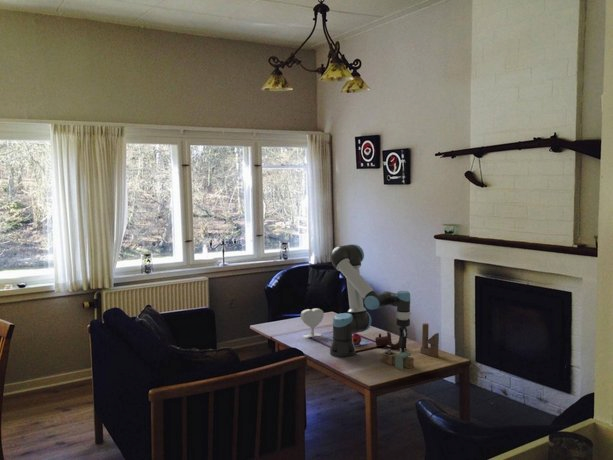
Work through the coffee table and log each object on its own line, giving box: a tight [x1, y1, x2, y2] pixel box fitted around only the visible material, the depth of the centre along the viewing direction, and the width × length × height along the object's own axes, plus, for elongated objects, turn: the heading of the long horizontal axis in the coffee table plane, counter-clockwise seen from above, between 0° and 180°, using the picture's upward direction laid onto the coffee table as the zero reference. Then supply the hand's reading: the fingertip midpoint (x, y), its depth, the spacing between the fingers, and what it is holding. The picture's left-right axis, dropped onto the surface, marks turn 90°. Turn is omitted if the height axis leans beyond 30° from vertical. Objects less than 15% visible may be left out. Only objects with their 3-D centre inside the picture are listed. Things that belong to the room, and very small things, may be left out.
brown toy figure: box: [374, 331, 400, 349], centre depth 337 cm, size 6×17×10 cm, turn 72°
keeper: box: [394, 351, 412, 370], centre depth 301 cm, size 4×8×8 cm, turn 125°
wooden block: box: [420, 322, 440, 358], centre depth 323 cm, size 4×11×18 cm, turn 38°
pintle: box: [386, 348, 392, 355], centre depth 311 cm, size 2×2×7 cm
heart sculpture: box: [300, 307, 325, 339], centre depth 361 cm, size 16×5×18 cm, turn 116°
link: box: [380, 350, 415, 369], centre depth 306 cm, size 18×7×5 cm, turn 49°
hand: (402, 358), depth 308 cm, fingers closed
